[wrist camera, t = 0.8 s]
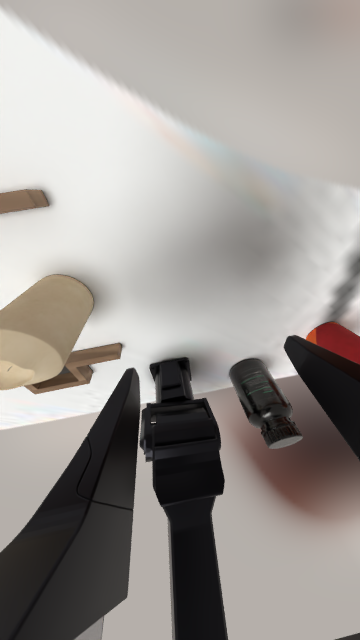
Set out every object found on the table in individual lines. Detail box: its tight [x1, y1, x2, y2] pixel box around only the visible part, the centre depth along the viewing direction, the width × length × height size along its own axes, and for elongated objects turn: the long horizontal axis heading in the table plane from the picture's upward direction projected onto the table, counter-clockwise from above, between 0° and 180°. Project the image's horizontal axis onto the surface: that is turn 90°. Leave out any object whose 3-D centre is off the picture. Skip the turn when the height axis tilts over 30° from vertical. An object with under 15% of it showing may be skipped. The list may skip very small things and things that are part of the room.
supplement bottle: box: [230, 359, 303, 449], centre depth 27 cm, size 7×7×12 cm
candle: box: [0, 275, 94, 390], centre depth 14 cm, size 6×6×10 cm
